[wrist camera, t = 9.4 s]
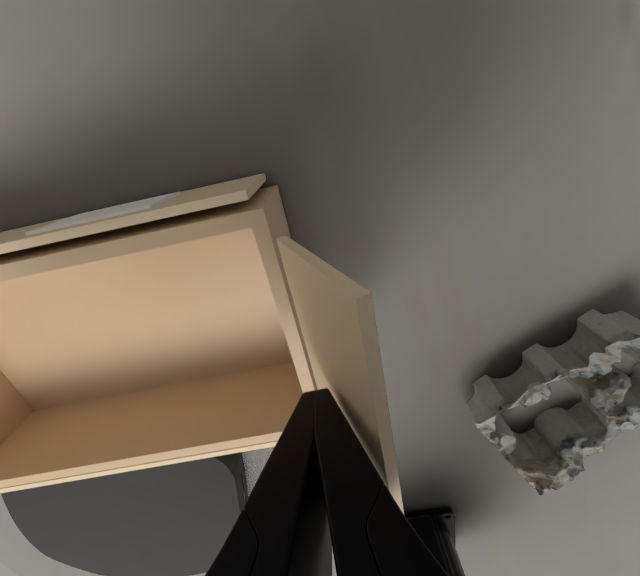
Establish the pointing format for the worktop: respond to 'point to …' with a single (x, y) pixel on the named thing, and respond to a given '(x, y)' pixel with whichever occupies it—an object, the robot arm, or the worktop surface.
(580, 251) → the worktop surface
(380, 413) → the flap
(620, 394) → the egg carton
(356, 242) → the worktop surface
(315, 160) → the worktop surface
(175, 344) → the carton
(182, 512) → the media streaming box
